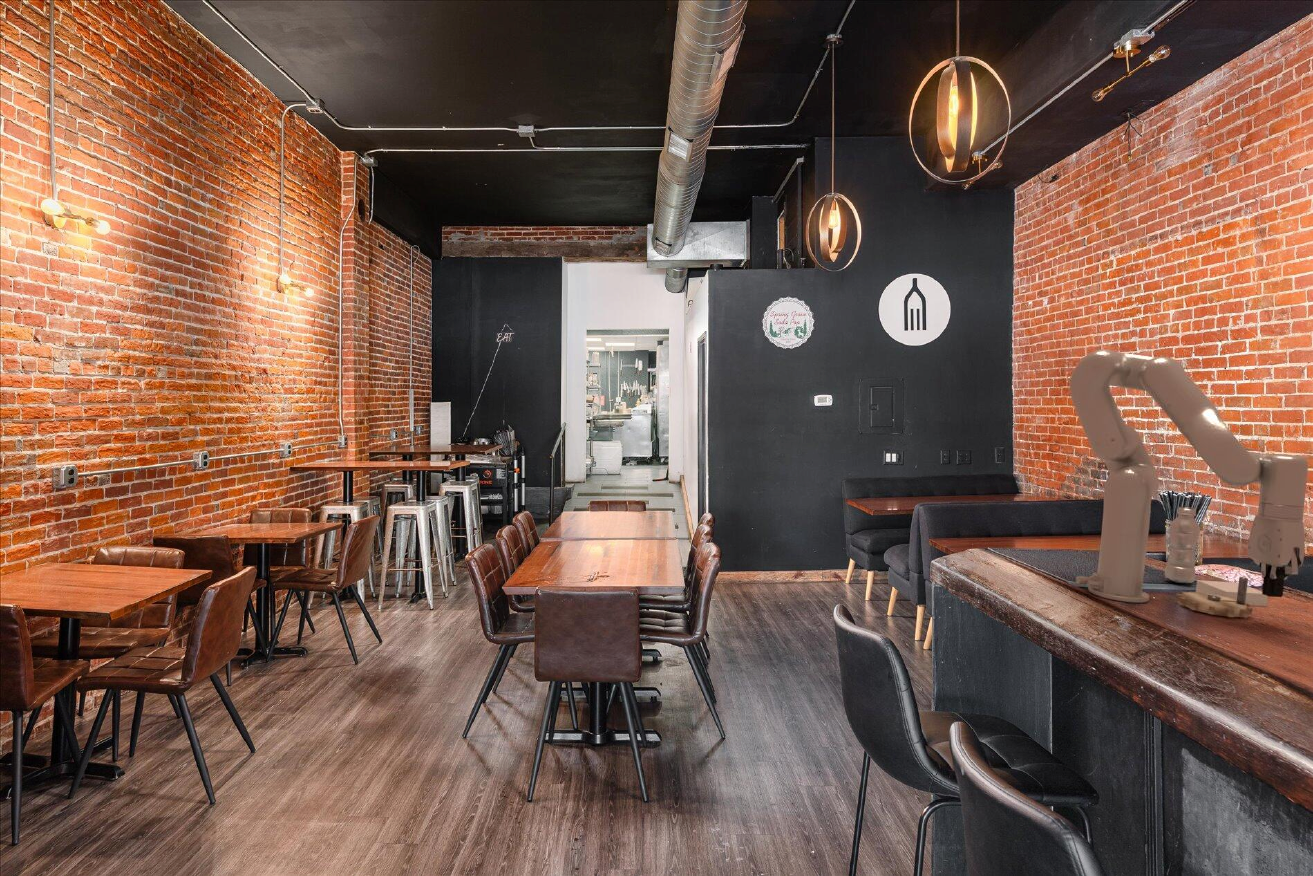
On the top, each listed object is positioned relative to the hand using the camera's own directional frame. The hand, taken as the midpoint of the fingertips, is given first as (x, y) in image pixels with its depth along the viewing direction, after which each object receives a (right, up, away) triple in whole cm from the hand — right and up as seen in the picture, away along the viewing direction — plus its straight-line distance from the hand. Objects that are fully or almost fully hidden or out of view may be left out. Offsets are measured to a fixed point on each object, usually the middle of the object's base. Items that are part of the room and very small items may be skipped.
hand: (1272, 595), depth 164 cm
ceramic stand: (+7, -5, +21) cm, 23 cm away
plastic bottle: (+4, -4, +34) cm, 35 cm away
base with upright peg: (-5, -6, +11) cm, 13 cm away
